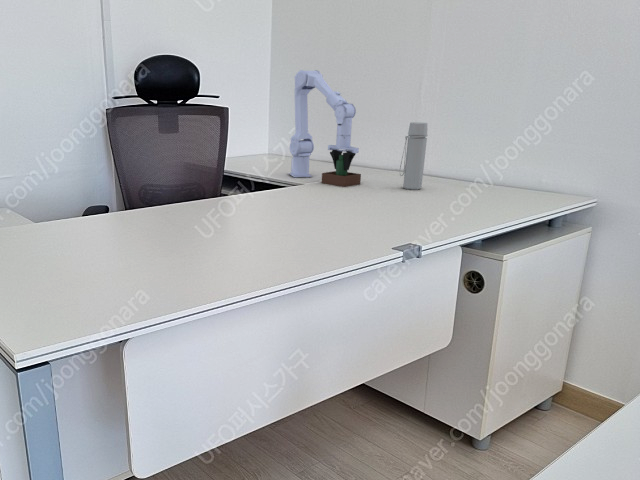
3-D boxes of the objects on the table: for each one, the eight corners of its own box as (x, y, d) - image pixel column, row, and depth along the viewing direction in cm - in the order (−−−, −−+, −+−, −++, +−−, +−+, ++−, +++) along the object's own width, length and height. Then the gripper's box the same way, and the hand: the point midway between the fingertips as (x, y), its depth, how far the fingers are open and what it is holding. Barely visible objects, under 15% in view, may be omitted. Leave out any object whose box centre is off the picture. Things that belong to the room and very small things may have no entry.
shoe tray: (321, 182, 247) (322, 173, 245) (337, 180, 253) (338, 170, 252) (344, 186, 238) (344, 176, 237) (360, 184, 244) (361, 174, 243)
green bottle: (334, 174, 246) (335, 154, 243) (344, 173, 247) (345, 154, 244) (337, 175, 242) (339, 155, 239) (348, 175, 243) (349, 155, 240)
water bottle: (419, 187, 238) (426, 122, 229) (423, 190, 231) (430, 123, 222) (396, 186, 239) (402, 122, 230) (399, 190, 232) (405, 123, 223)
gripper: (364, 136, 236) (361, 170, 241) (336, 133, 246) (334, 166, 251) (353, 137, 232) (350, 172, 237) (325, 134, 242) (323, 168, 247)
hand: (341, 169), depth 244 cm, fingers closed on green bottle, 4 cm apart
